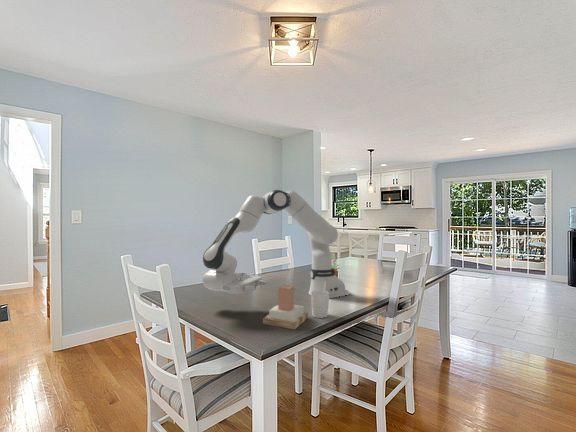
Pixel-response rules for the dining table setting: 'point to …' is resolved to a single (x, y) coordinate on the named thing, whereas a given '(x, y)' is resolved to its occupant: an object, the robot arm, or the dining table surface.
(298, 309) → the cream slab
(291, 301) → the terracotta pillar
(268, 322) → the oak slab
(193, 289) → the dining table surface
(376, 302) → the dining table surface
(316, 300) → the white cup
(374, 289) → the dining table surface
